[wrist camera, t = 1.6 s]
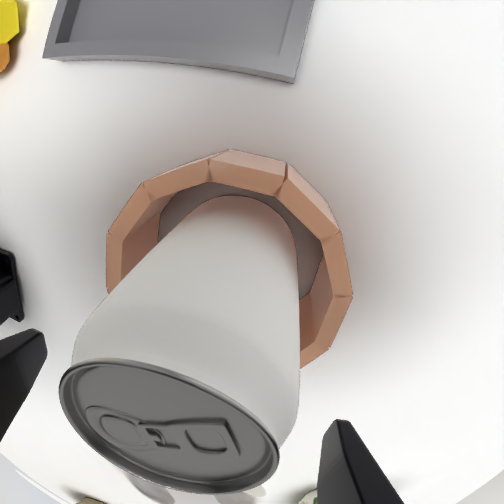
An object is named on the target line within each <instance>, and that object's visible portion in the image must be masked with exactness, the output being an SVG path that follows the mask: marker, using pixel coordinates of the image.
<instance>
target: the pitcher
mask: <svg viewBox="0 0 504 504" xmlns="http://www.w3.org/2000/svg"><path fill="white" fill-rule="evenodd" d="M298 504H317V490H314V491H311V492H309V493H307V494H306V495H305V496H304V498H303V499H302V500H301V501H300V502H299V503H298Z"/></svg>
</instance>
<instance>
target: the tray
mask: <svg viewBox="0 0 504 504" xmlns="http://www.w3.org/2000/svg"><path fill="white" fill-rule="evenodd" d="M313 3H314V0H58V2H57V5H56V8H55V11H54V15H53V18H52V21H51V25H50V28H49V32H48V36H47V40H46V44H45V48H44V52H43V57H42V58H44V59H52V60H59V61H76V60H130V61H150V62H164V63H175V64H185V65H194V66H202V67H209V68H216V69H223V70H229V71H235V72H241V73H246V74H251V75H256V76H261V77H266V78H271V79H275V80H280V81H284V82H288V83H294V79H295V75H296V71H297V67H298V63H299V59H300V55H301V51H302V47H303V43H304V39H305V35H306V31H307V27H308V23H309V19H310V15H311V11H312V7H313Z"/></svg>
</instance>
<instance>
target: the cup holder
mask: <svg viewBox="0 0 504 504" xmlns="http://www.w3.org/2000/svg"><path fill="white" fill-rule="evenodd" d="M285 164H286V162H284V161H280V160H276V159H272V158H268V157H264V156H259V155H255V154H251V153H247V152H242V151H238V150H233V149H231V150H226V151H222V152H219V153H216V154H213V155H210V156H207V157H204V158H201V159H198V160H195V161H192V162H190V163H187V164H184V165H181V166H179V167H176V168H174V169H171V170H169V171H167V172H165V173H162V174H160V175H158V176H155V177H153V178H151V179H149V180H147V181H144V182H143V183H142V184H140V186H139V187H138V188H137V190H136V191H135V192H134V194H133V195H132V197H131V198H130V199H129V201H128V202H127V204H126V205H125V207H124V208H123V209H122V211H121V212H120V214H119V215H118V217H117V218H116V220H115V221H114V223H113V224H112V226H111V227H110V229H109V230H108V232H109V233H108V234H107V245H106V287H107V288H108V289H107V291H108V293H109V294H110V292H111V291H112V290H113V289H114V288H115V287H116V286H117V285H118V284H119V283H120V282H121V281H122V280H123V279H124V278H125V277H126V275H127V274H128V273H129V272H130V271H131V270H132V269H133V268H134V267H135V266H136V265H137V264H138V263H139V262H140V261H141V260H142V259H143V258H144V257H145V256H146V255H147V254H148V253H149V252H150V251H151V250H152V249H153V248H154V247H155V246H156V245H157V239H158V230H159V222H160V214H161V211H162V210H163V209H164V207H165V206H166V205H167V204H168V202H169V201H170V200H171V199H172V197H173V196H174V195H175V194H176V193H177V192H178V191H181V190H184V189H187V188H190V187H193V186H196V185H199V184H202V183H205V182H209V181H212V182H216V183H220V184H225V185H229V186H233V187H238V188H242V189H246V190H250V191H254V192H258V193H262V194H266V195H270V196H274V197H276V198H277V199H278V200H279V201H280V202H281V203H282V204H283V205H284V206H285V207H286V208H287V209H288V210H289V211H290V212H291V213H292V214H293V215H295V216H296V217H297V218H298V219H299V220H300V221H301V222H302V223H303V224H304V225H305V226H306V227H307V228H308V229H309V230H310V231H311V232H312V233H313V234H314V235H315V236H316V237H317V238H318V239H319V240H320V241H321V244H322V248H323V252H324V254H323V257H322V260H321V262H320V265H319V268H318V271H317V274H316V277H315V280H314V283H313V285H312V288H311V291H310V292H309V293H308V294H307V295H306V296H304V297H303V298H302V299H301V300H299V328H300V369H301V368H302V367H304V366H305V365H307V364H308V363H310V362H311V361H313V360H314V359H316V358H317V357H318V356H320V355H321V354H323V353H324V352H326V351H327V350H328V347H331V345H332V343H333V341H334V338H335V336H336V334H337V332H338V330H339V328H340V325H341V323H342V321H343V319H344V316H345V314H346V312H347V310H348V307H349V305H350V303H351V300H352V298H353V297H352V295H353V291H352V286H351V280H350V275H349V270H348V264H347V259H346V254H345V249H344V244H343V240H342V235H341V232H340V230H339V227H338V225H337V223H336V221H335V218H334V216H333V214H332V212H331V210H330V208H329V205H328V204H327V202H326V200H325V199H324V198H323V197H322V196H321V195H320V194H319V193H318V192H317V191H316V190H315V189H314V188H313V187H312V186H311V185H310V184H309V183H308V182H307V181H306V180H305V179H304V178H303V177H302V176H301V175H300V174H299V173H298V172H297V171H295V170H294V169H293V168H292V167H291V166H290V165H289V164H287V165H286V166H285Z"/></svg>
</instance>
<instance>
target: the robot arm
mask: <svg viewBox="0 0 504 504" xmlns="http://www.w3.org/2000/svg"><path fill="white" fill-rule="evenodd" d="M9 317H10V318H12V319H14V320H16V321H18V322H21V321H22V320H23V319H24V317H23V312H22V307H21V302H20V296H19V291H18V285H17V278H16V271H15V264H14V258H13V256H12V255H11V254H10V253H9V252H6V251H4V250H1V249H0V325H1V324H2V323H4V322H5V321H6V320H7V319H8V318H9ZM46 358H47V347H46V343H45V338H44V335H43V333H42V332H40V331H38V330H36V329H33V328H32V329H28V330H26V331H23V332H20V333H18V334H15V335H12V336H10V337H7V338H4V339H2V340H0V442H1V440H2V438H3V436H4V435H5V433H6V431H7V429H8V428H9V426H10V424H11V422H12V421H13V419H14V417H15V416H16V414H17V412H18V411H19V409H20V407H21V406H22V404H23V402H24V401H25V399H26V397H27V396H28V394H29V392H30V390H31V388H32V386H33V384H34V382H35V380H36V378H37V376H38V374H39V372H40V370H41V368H42V366H43V364H44V362H45V360H46ZM317 504H404V503H403V501H402V500H401V498H400V497H399V495H398V494H397V492H396V491H395V489H394V488H393V486H392V485H391V483H390V482H389V480H388V479H387V477H386V476H385V474H384V473H383V471H382V470H381V468H380V467H379V465H378V464H377V462H376V461H375V459H374V458H373V456H372V455H371V453H370V452H369V450H368V449H367V447H366V446H365V444H364V443H363V441H362V439H361V438H360V436H359V435H358V433H357V432H356V430H355V429H354V427H353V426H352V424H351V423H350V422H349V421H347V420H340V419H336V420H334V421H333V423H332V424H331V426H330V427H329V428H328V430H327V431H326V433H325V434H324V436H323V440H322V449H321V457H320V466H319V474H318V482H317Z"/></svg>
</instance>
